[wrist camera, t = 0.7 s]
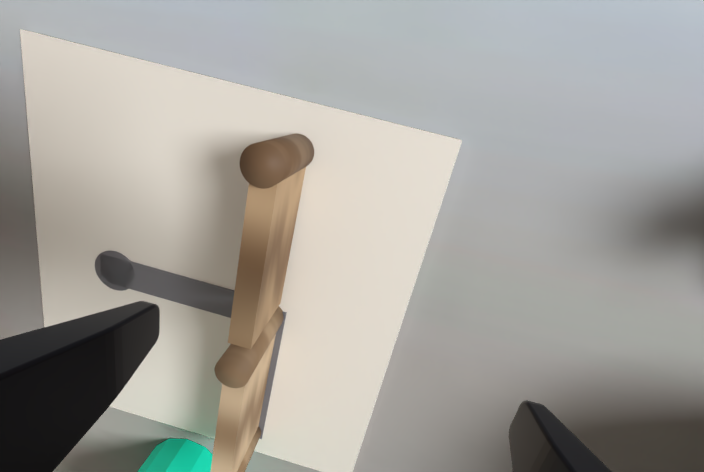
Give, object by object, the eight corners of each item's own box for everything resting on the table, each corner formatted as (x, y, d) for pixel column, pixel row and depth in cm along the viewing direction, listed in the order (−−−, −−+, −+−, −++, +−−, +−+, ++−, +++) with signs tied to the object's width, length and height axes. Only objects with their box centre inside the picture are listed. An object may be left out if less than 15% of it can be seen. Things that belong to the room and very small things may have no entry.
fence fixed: (260, 441, 27) (225, 519, 22) (236, 434, 27) (197, 510, 22) (286, 306, 23) (251, 364, 18) (258, 298, 23) (216, 353, 18)
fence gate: (285, 304, 23) (252, 357, 18) (257, 296, 23) (217, 347, 18) (317, 138, 19) (287, 149, 14) (283, 129, 19) (242, 137, 14)
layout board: (350, 473, 28) (349, 481, 27) (55, 383, 29) (48, 388, 28) (460, 139, 19) (462, 140, 18) (28, 30, 20) (18, 28, 20)
